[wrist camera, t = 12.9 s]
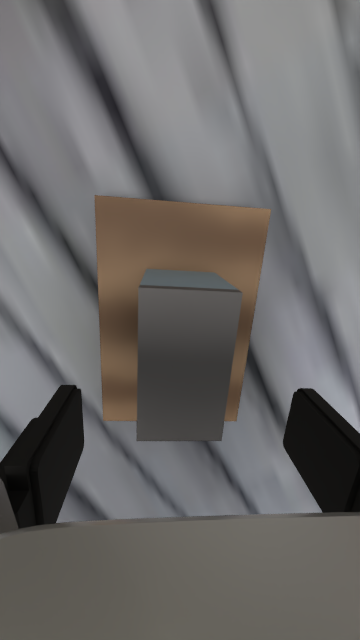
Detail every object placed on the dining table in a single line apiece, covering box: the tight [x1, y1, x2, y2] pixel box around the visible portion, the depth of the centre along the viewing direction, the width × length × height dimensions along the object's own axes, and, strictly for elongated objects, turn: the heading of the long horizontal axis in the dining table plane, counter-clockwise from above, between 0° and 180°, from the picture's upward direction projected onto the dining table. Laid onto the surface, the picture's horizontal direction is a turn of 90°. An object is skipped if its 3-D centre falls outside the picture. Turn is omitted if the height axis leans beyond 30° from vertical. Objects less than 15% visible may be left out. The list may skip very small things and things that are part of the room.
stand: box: [95, 195, 271, 421], centre depth 21 cm, size 18×12×3 cm, turn 176°
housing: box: [137, 269, 243, 441], centre depth 17 cm, size 5×9×7 cm, turn 176°
